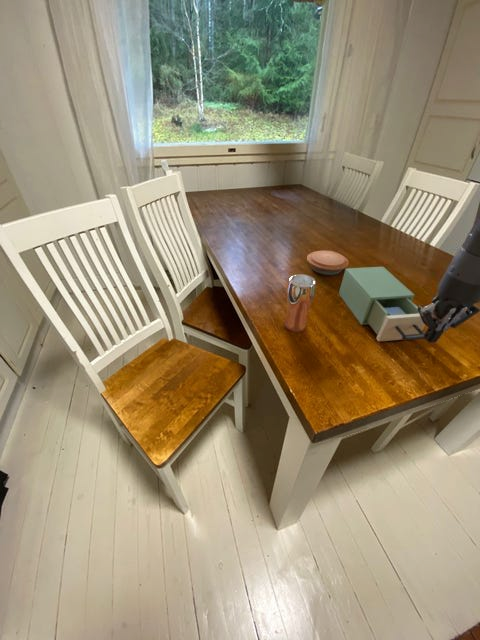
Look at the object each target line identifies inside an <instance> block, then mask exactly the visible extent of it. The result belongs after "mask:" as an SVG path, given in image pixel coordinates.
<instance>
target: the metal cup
mask: <svg viewBox="0 0 480 640" xmlns="http://www.w3.org/2000/svg"><path fill="white" fill-rule="evenodd" d="M316 282H317V281H316V279H315V278H314V277H313V276H311V275H308V274H303V273H298V274H297V273H296V274H294V275H292V276H290V278H289V282H288V286H287V291H286V311H287V312H286V317H285V320H284V327H285V328H286V330H288V331H291V332H294V333H299V332H302V331H304V330H305V329H306V325H307V323H306V320H307V319H306V318H307V315H308V313H309V311H310V308H311V306H312V303H313V300H314V297H315V291H316V284H317V283H316Z"/></svg>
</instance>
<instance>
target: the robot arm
mask: <svg viewBox="0 0 480 640" xmlns="http://www.w3.org/2000/svg"><path fill="white" fill-rule="evenodd" d="M478 303H480V201H478V206H477V210H476V214H475V218H474V222H473V224H472V227H471V228H470V230H469V232H468V234H467V235H466V238H465V239H464V241H463V243H462V245H461V247H460V248H459V249H458V250H457V252H456V253H455V254H454V256H453V258H452V259H451V261H450V263H449V265H448V267H447V268H446V270H445V272H444V273H443V276H442V278H441V279H440V281H439V283H438V285H437V294H436V296H435V297H434V298H432V300H431V303H430V304H428V305H426V306H424V305H419V306H417V307H418V312H419V314H420V317H421V319H422V322H423V323H424V324H425V327H427V329H426V330H425V332H424V333H425V334H424V338H425V339H424V340H426V342H427V343H429V344H430V343H431V344H432V343H433V344H434V343H437V342H438V340H440V339H441V337H442V335H443V334H444V332H445V331H448V330H449V329H450V328H452V329H455V328H457V327H459V326H460V325H461V324H463V323H465V322H466V321H467V320H469V319H470V318H472V317H474V316H475V315H477V314H479V312H480V308H479V307H478V306H477V305H475V304H478Z"/></svg>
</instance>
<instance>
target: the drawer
mask: <svg viewBox="0 0 480 640" xmlns="http://www.w3.org/2000/svg"><path fill="white" fill-rule="evenodd" d="M391 307H400V308H401V309H402V310H403V311H404V312H405V313H406V314H404V315H391V316H387V315H388V312H387V311H386V310H385V309H384V308H391ZM418 307H419V306H417V305H416V304H415V303H414V302H413V300H412V301H411V300H410V299H409V298H396V299H381V300H373V302H372V305H371V307H370V310H369V313H368V315H367V318H366V321H367V322H368V326H369V327H370V328H371V329H372V330H373V332H374V333H375V334H376V338H375V339H376V340H377V342H388V341H399V340H401V341H406V342H407V341H417V340H420V341H421V340H426V339H425V338H424V334H425V332H424V331H423V330H424V328H425V327H426V325H425V324H424V323H423V322H422V319H421V317H420V314H419V312H418Z"/></svg>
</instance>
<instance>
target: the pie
mask: <svg viewBox="0 0 480 640" xmlns="http://www.w3.org/2000/svg"><path fill="white" fill-rule="evenodd" d="M306 261H307V262H308V264H309V266H310V268H311V270H313V271H314V272H315V273H317V274H319V275H324V276H333V275H337V274H339V273H341V272H342V271H343V270H344V269H346V268H347V267H348V266H349V260H348V258H347V257H345V256H344V255H343V254H340V253H339V252H336V251H332V250H317V251H313V252H310V253H309V254H308V255H307V257H306Z"/></svg>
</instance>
